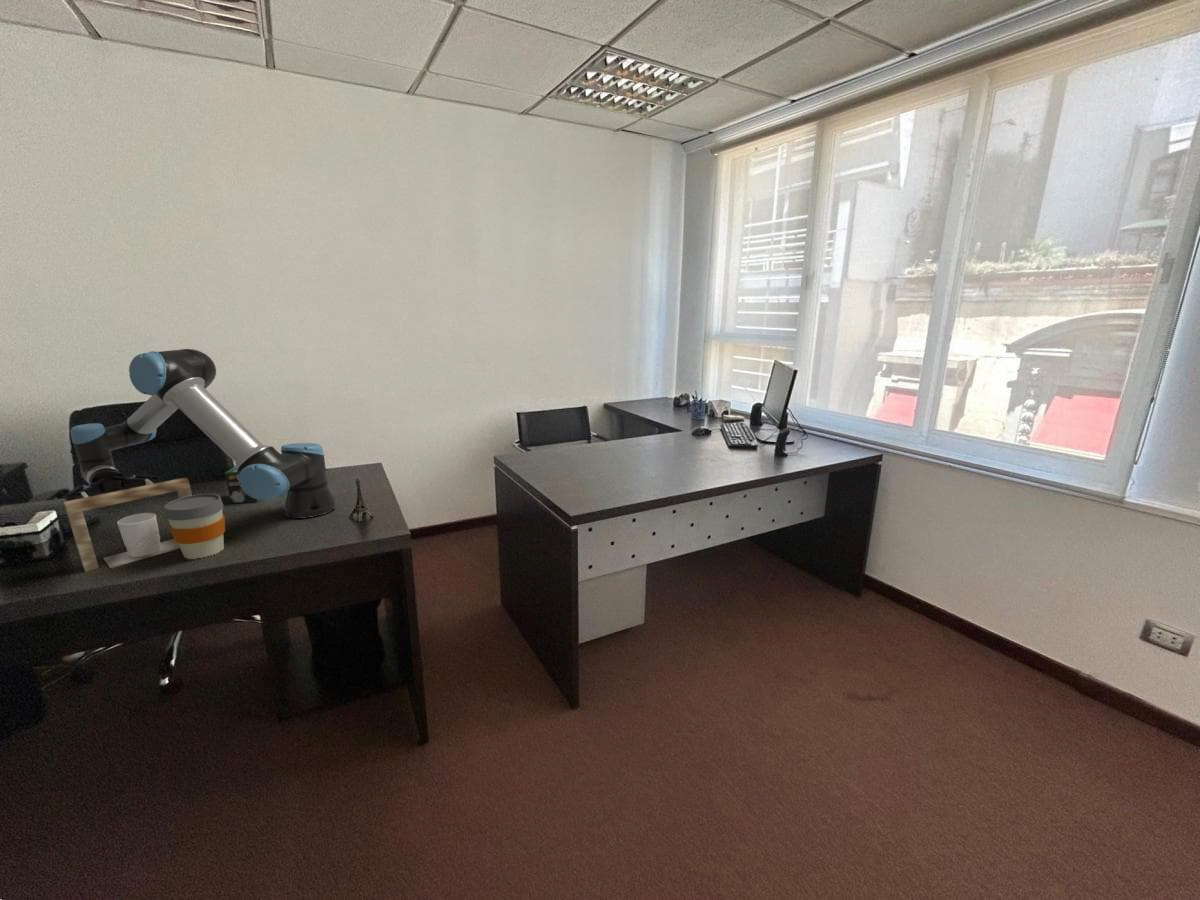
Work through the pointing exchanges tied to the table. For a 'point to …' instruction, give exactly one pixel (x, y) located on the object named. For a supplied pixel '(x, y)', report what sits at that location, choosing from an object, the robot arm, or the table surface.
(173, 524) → the reusable coffee cup
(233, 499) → the chalk box
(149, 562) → the table surface
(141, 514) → the white cup
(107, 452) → the robot arm
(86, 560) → the bridge
